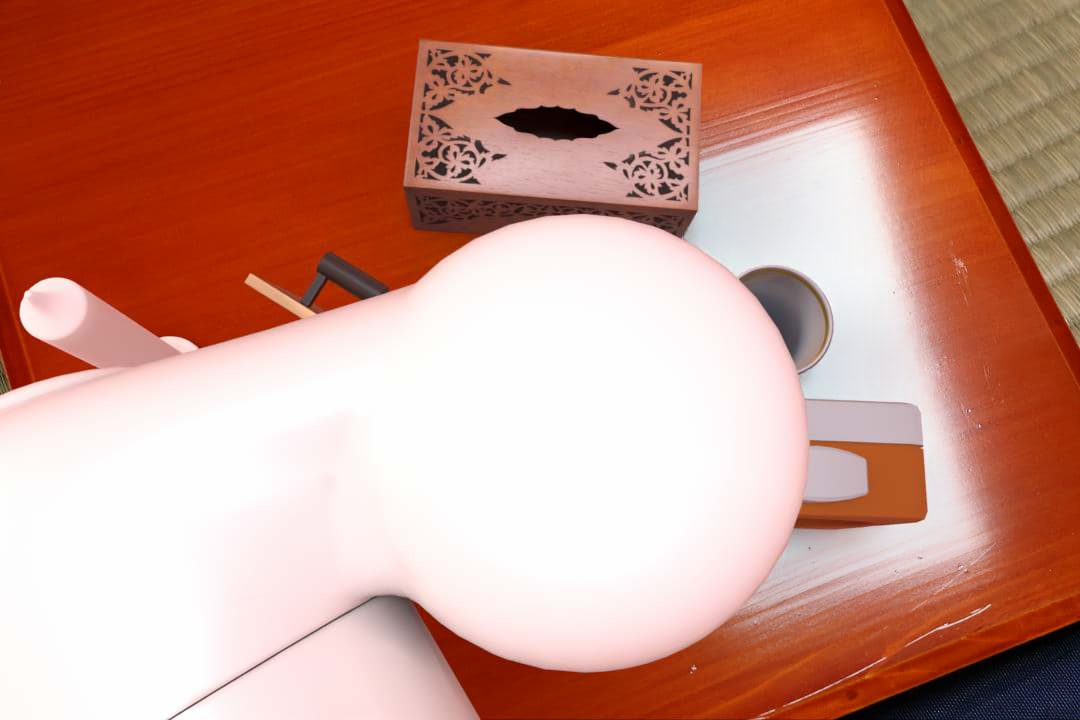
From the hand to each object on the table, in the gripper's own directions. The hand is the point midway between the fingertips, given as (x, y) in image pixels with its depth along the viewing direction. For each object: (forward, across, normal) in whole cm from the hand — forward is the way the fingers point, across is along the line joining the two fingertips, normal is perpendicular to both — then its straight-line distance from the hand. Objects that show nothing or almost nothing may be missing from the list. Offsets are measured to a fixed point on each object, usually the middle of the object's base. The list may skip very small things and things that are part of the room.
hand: (525, 517), depth 42 cm
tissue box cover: (+37, -16, +32) cm, 52 cm away
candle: (+37, -35, -4) cm, 51 cm away
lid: (+22, -19, +5) cm, 30 cm away
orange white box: (+37, +15, +16) cm, 43 cm away
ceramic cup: (+37, +9, +26) cm, 46 cm away
